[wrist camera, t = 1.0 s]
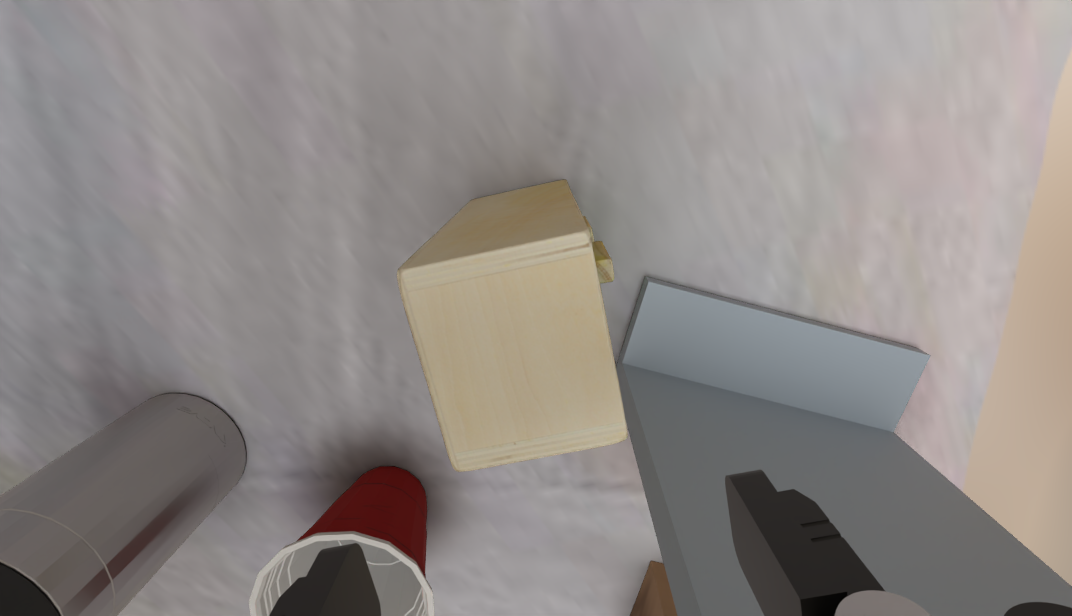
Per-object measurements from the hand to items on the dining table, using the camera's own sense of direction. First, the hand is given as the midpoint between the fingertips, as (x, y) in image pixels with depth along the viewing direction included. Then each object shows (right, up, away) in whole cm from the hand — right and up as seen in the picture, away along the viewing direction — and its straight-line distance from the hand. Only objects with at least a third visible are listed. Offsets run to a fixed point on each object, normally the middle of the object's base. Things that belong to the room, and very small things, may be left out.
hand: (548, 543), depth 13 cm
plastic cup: (-11, -10, +33) cm, 37 cm away
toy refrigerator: (0, +9, +28) cm, 29 cm away
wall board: (+15, -2, +30) cm, 34 cm away
